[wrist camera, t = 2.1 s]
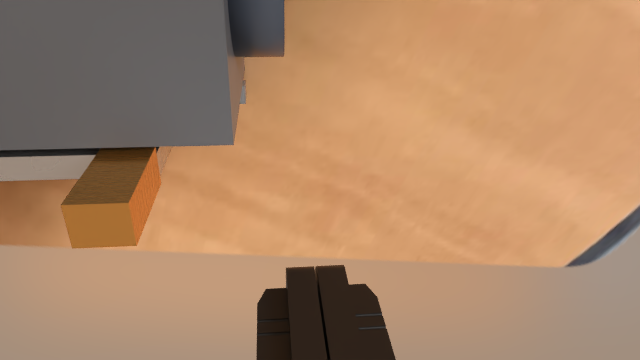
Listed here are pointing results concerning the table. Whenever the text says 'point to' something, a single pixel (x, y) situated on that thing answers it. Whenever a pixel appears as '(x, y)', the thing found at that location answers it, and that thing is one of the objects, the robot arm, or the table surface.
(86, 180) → the side door
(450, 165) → the table surface
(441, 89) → the table surface
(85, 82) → the grey box machine
